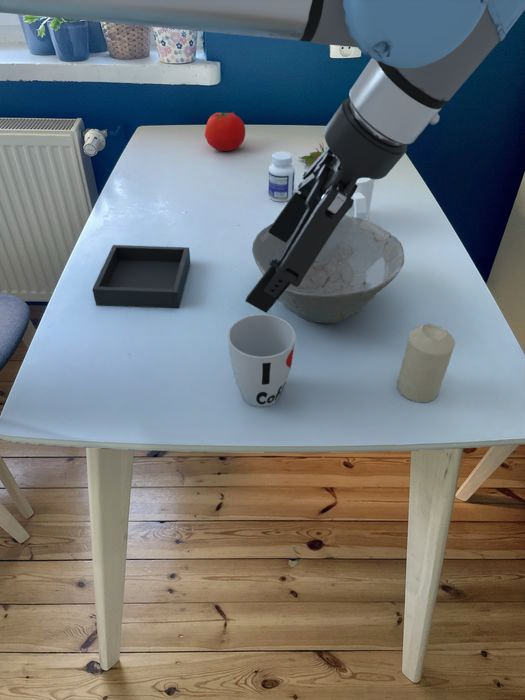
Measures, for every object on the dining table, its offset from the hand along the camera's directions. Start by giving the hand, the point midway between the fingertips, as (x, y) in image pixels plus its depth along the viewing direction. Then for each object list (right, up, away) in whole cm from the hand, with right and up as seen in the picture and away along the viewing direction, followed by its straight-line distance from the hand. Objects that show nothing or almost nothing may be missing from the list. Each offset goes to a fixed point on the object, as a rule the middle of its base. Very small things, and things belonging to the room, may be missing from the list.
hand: (267, 268), depth 65 cm
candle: (+20, -15, +8) cm, 26 cm away
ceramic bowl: (+9, -3, +21) cm, 23 cm away
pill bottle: (+3, +22, +49) cm, 54 cm away
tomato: (-10, +40, +68) cm, 79 cm away
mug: (+15, +14, +40) cm, 45 cm away
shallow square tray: (-20, +1, +25) cm, 32 cm away
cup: (-1, -16, +7) cm, 17 cm away
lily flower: (+14, +34, +62) cm, 72 cm away
